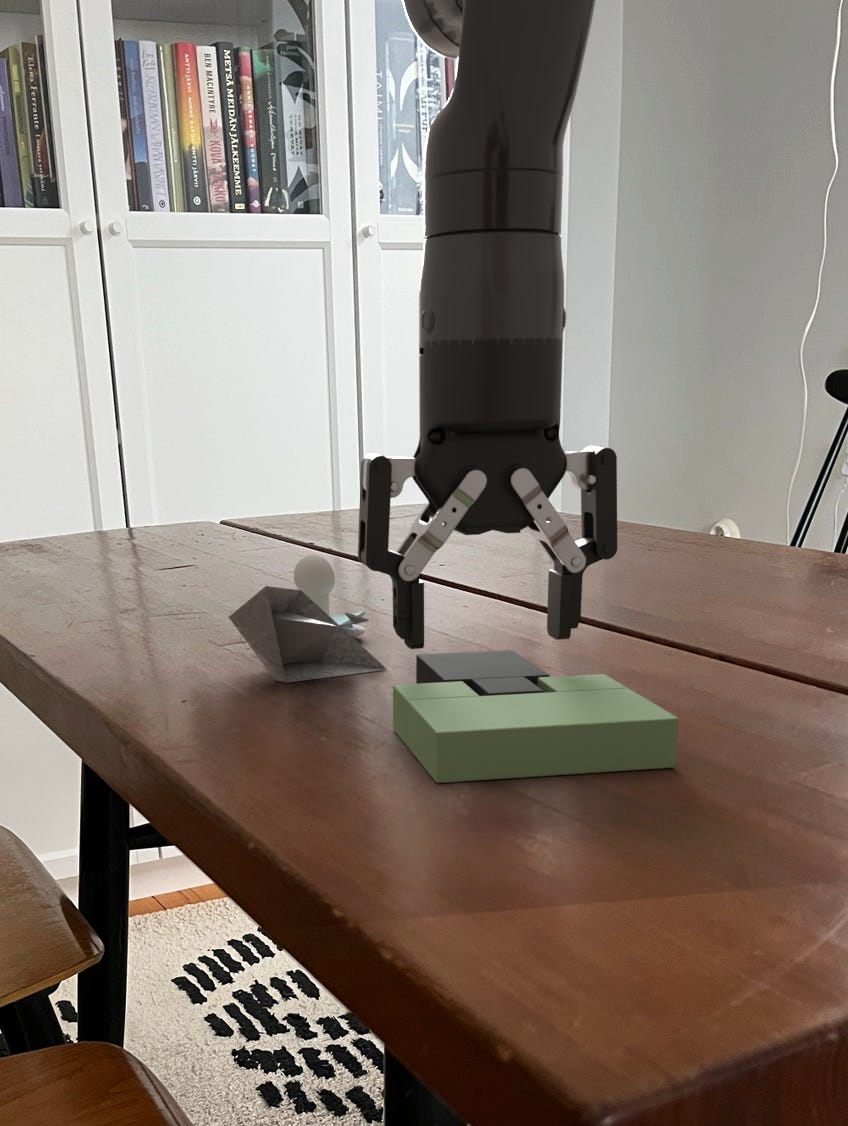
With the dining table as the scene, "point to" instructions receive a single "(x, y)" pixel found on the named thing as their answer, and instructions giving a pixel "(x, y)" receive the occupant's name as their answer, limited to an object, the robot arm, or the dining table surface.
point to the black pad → (481, 671)
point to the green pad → (533, 729)
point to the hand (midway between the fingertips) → (486, 641)
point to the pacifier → (322, 588)
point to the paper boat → (300, 637)
